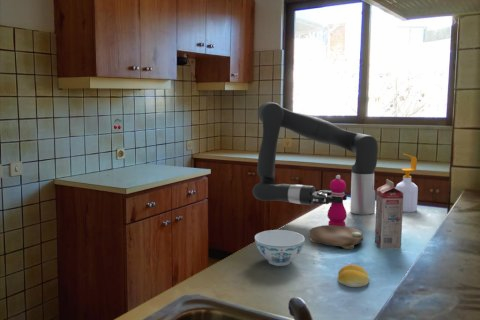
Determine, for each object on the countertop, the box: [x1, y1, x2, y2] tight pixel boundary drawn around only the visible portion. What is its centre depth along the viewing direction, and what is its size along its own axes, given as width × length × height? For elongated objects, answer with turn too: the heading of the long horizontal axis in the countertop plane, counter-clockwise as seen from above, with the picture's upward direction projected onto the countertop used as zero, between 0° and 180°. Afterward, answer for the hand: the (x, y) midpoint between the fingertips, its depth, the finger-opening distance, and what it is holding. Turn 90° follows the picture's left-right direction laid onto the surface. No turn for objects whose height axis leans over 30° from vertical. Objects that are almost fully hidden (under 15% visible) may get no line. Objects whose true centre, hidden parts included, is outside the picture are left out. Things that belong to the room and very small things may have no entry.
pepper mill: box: [327, 174, 348, 226], centre depth 173 cm, size 7×7×20 cm
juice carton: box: [374, 178, 404, 250], centre depth 151 cm, size 7×7×22 cm
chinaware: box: [254, 229, 306, 267], centre depth 138 cm, size 15×15×8 cm
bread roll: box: [337, 264, 370, 288], centre depth 124 cm, size 8×9×4 cm
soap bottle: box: [395, 153, 419, 213], centre depth 196 cm, size 9×9×25 cm
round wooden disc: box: [308, 225, 364, 250], centre depth 157 cm, size 18×18×4 cm
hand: (344, 199), depth 172 cm, fingers closed on pepper mill, 5 cm apart
